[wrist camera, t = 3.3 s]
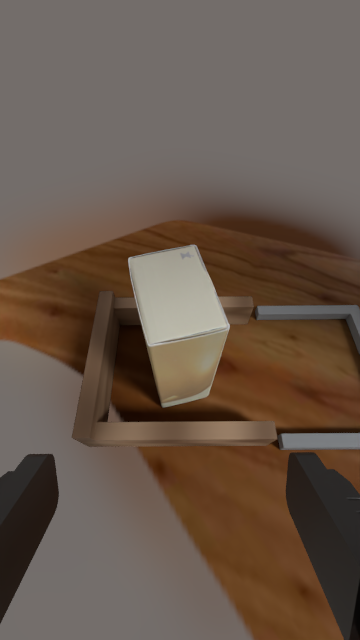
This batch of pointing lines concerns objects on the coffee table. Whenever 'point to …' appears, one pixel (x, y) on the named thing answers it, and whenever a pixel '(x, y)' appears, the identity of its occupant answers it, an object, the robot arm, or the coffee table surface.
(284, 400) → the coffee table surface
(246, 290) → the coffee table surface
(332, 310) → the bracket
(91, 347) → the frame
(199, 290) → the skincare box
